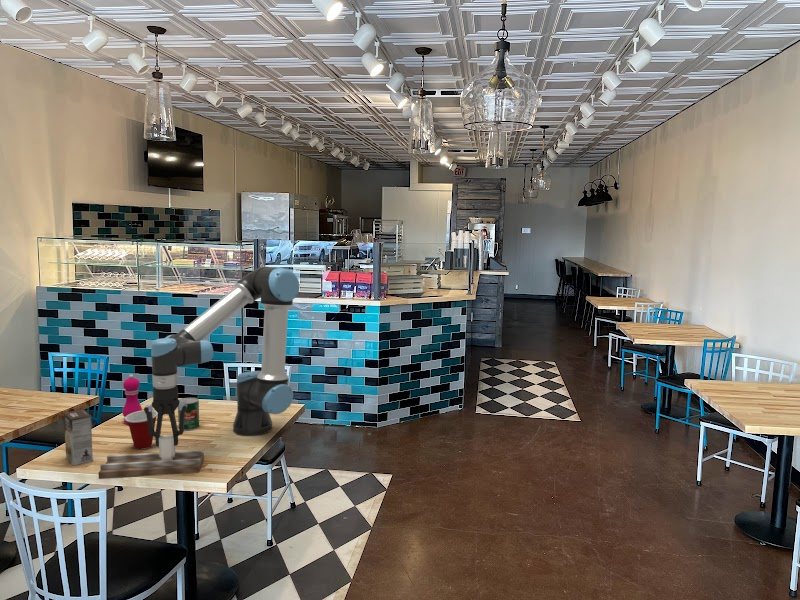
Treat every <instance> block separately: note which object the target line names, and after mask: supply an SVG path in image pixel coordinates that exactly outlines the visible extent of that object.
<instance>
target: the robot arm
mask: <svg viewBox="0 0 800 600" xmlns="http://www.w3.org/2000/svg"><path fill="white" fill-rule="evenodd" d="M299 291H300V281H299V278H298V277H297V275H296V274H295V273H294V272H293V271H291V270H289V269H286V268H282V267H270V266H261V267H258V268H255V269H254V270H252V271H250V272H249V273H247V274H246V275H244V276H243V277H242V278H240V279H239V280H238V281H237V282H235V283H234V287H233V288H232V289H231V290H230V291H228V292H227V293H226V294H225V295H224V296H222V297H221V298H220V299H219V300H218V301H216V302H215V303H213V305H211V306H210V307H209V308H207V310H205V311H204V312H202V313H201V314H200V315H198V316H197V317H196V318H195V319H194V320H193V321H191V322H190V323H189V324H188V325H185V327H184V328H182V329H181V330H179V332H177V333H176V334H175V333H174V334H170V335H167V336H166V337H164V338H157V339H155V340H153V341H152V343H151V349H150V350H151V352H150V353H151V354H150V355H151V369H152V375H151V377H152V378H151V379H152V387H153V388H152V402H151V404H148V405H145V407H144V408H143V410H144V411H145V413H146V415H147V423H148V430H149V436H153V438H155V447H156V448H158V450H159V451H158V453H159V457H161V438H162V437H163V435H164V434H163V435H162V433H161V432H162V424H163V418H164V415H167V416H168V418H169V421H170V426H171V431H172V434H171V435H172V437H171V455H172V457H174V455H175V452H176V447H178V445H179V436H181V435H183V434H184V432H185V430H184V423H185V410H186V408H187V406H188V405H187V404H182V403H180V401H179V400H180V399H179V389H178V383H179V382H178V380H179V379H178V367H185V366H190V365H191V366H192V365H196V364H197V365H198V364H203V363H207V362H208V363H209V362H210V361H211V360H212V359H213V357H214V348H213V344H212V343H211V342H210V341H209V340H207V339H206V338H207V337H208V336H210V335H211V334H212V333H213V332H214V331H215V330H217V329H218V328H220V326H222V325H223V324H224V323H225V322H226V321H229V319H230V318H231V317H233V316H234V315H235V314H236V313H237V312H239V311H240V310H241V309H243V308H244V307H245V306H246V305H247V304H253V303H254V302H256V300H258V299H260V305H261V306H262V307H263V308H264V311H263V313H264V315H263V336H262V350H261V351H262V353H261V370H251V371H245V372H242V373H240V374H238V375H237V376H236V377H237V378H236V401H237V402H236V403H237V405H236V406H237V407H236V408H237V409H236V410H237V412H236V414H235V418H234V421H233V423H232V431H233V433H234V434H236V435H240V436H259V435H263V434H267V433H269V432H271V431H272V430H273V420H272V418H271V415H279V414H282V413H284V412H285V411H286V410H288V408H290V406H291V405H292V403H293V399H294V392H293V389H292V388H291V386H290V385H289V376H288V374H287V373H286V371H285V370H286V356H287V355H286V353H287V350H286V349H287V334H288V319H289V318H288V317H289V309H290V308H292V307H293V303H294V302H293V301H294V299H295V298H296V297H297V296H298V295H299ZM178 406H179V410H180V411H181V412H180V425H178V424H177V419H176V415H175V414H176V412H175V411H176V410H177V409H178ZM152 410H154V411H156V412H157V413H158V415H157V417H156V424H155V428H154V423H153V416H152ZM270 414H271V415H270Z"/></svg>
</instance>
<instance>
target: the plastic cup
mask: <svg viewBox="0 0 800 600" xmlns="http://www.w3.org/2000/svg"><path fill="white" fill-rule="evenodd" d="M152 416H153V423H154V429H156V423H157V416H158V413H157V411H156V410H155V409H153V410H152ZM124 419H125V420H126V421H127V423H128V428H129V432H130V435H131V436H130V437H131V440H132V444H133V447H134V449H136V450H145V449H149V448H151V447H152V446H153V445H152V444H153V440H154V437H153V436H149V430H148V423H147V415H146V413H145V411H144V409H142V411H137V412H134V413H131V414H129V415H127V416H126V417H124Z"/></svg>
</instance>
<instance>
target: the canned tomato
mask: <svg viewBox="0 0 800 600" xmlns="http://www.w3.org/2000/svg"><path fill="white" fill-rule="evenodd" d="M178 400H179V401H180V403H182V404H187V405H188V406H187V408H186V410H185V423H184V432H185V431H193V430H197V429H199V428H200V402H199V401H200V400H199V398H197V397H184V398H180V399H178ZM180 412H181V411H180V410H179V406H178V407H177V415H178V416H177V420H178V424H177V426H179V425H180Z"/></svg>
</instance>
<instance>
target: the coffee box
mask: <svg viewBox="0 0 800 600" xmlns="http://www.w3.org/2000/svg"><path fill="white" fill-rule="evenodd" d="M63 422H64V423H63V424H64V425H63V426H64V441H65V442H64V443H65V445H64V446H65V458H66V459H67V460H68V461H69V463H70V464H71V465H72V466H77V465H82V464H85V463H90V462H93V460H94V458H93V433H92V432H93V431H92V430H93V429H92V415H91V414H89V412H88V411H86V410H85V409H84V408H82V409H78V410H72V411H67V412H63Z"/></svg>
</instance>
